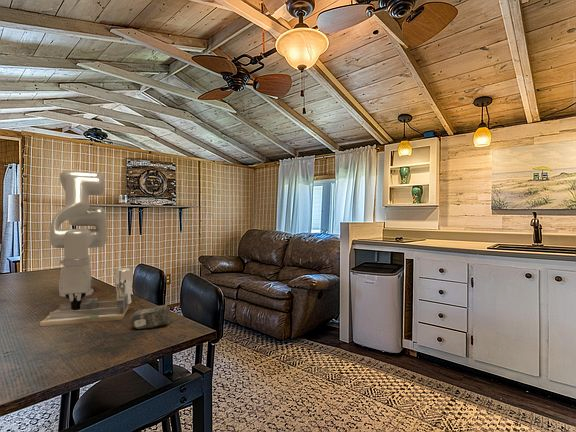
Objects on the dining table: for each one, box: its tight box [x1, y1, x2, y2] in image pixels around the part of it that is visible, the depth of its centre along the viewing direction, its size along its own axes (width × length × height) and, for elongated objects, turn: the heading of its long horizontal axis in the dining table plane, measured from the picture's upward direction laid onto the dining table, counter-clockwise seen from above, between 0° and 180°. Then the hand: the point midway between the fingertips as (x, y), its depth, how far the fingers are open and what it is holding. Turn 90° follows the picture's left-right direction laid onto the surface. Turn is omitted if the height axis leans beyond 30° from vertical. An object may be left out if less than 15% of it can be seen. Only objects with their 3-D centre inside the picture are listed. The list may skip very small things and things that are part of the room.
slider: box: [80, 297, 99, 310], centre depth 125 cm, size 12×4×5 cm, turn 17°
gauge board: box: [39, 294, 130, 327], centre depth 127 cm, size 16×26×6 cm, turn 107°
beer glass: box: [114, 267, 134, 305], centre depth 144 cm, size 7×7×15 cm
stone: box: [129, 304, 173, 330], centre depth 117 cm, size 14×7×10 cm, turn 128°
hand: (76, 310), depth 126 cm, fingers closed
